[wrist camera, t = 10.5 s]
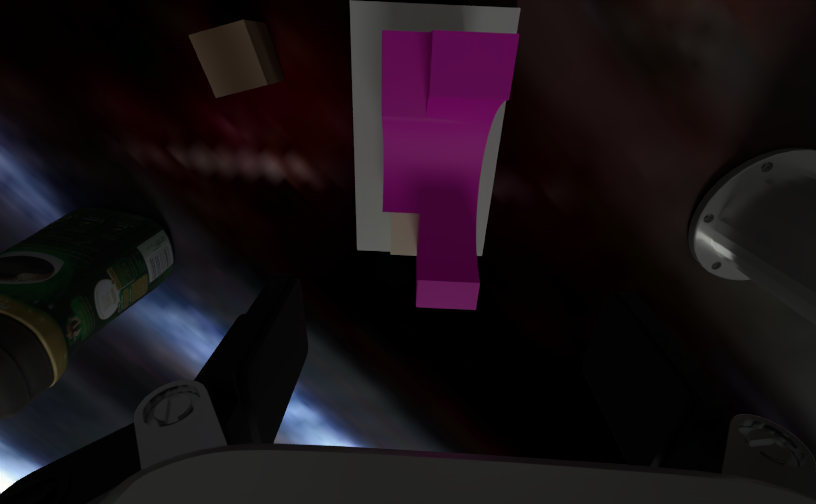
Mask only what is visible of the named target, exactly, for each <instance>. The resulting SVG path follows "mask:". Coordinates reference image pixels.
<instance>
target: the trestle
mask: <svg viewBox="0 0 816 504" xmlns="http://www.w3.org/2000/svg"><path fill="white" fill-rule="evenodd" d="M519 14H520V8H507V7H484V6H462V5H440V4H417V3H395V2H373V1H350V25H351V58H352V92H353V125H354V159H355V192H356V225H357V250H369V251H390V252H391V254H392V255H413V256H417V238H418V220H419V214H415V213H394V212H382V208H383V129H382V116H381V100H382V30H392V31H415V32H432V31H433V30H445V31H468V32H490V33H513V34H517V27H518V21H519ZM505 104H506V101H505V102H503V103H502V105H501V106H500V107H499V109H498V111H497V113H496V115H495V117H494V120H493V122H492V125H491V128H490V132H489V135H488V139H487V143H486V147H485V152H484V157H483V162H482V169H481V175H480V183H479V192H478V203H477V221H476V250H477V256H482V252H483V246H484V239H485V233H486V226H487V220H488V213H489V207H490V201H491V194H492V188H493V181H494V175H495V168H496V162H497V156H498V149H499V143H500V136H501V130H502V124H503V117H504V111H505Z"/></svg>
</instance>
